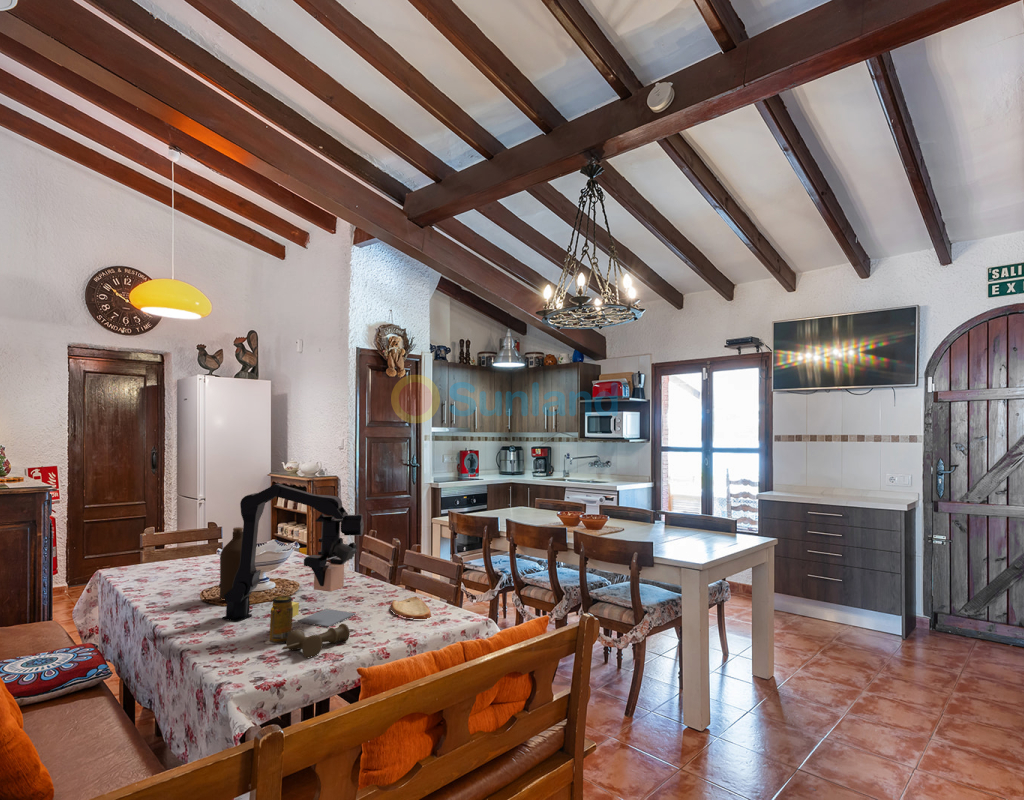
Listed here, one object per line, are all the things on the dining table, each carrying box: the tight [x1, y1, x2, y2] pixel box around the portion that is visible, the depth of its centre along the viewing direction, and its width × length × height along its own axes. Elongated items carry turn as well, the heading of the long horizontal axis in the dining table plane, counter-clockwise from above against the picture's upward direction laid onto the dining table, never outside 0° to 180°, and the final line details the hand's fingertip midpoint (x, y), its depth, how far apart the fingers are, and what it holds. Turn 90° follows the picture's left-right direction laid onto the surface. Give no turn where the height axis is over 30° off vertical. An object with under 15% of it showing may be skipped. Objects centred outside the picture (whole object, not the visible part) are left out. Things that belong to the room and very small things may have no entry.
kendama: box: [282, 623, 350, 658], centre depth 164 cm, size 6×10×20 cm
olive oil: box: [218, 526, 250, 599], centre depth 210 cm, size 11×11×25 cm
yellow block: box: [292, 601, 300, 618], centre depth 192 cm, size 4×4×4 cm
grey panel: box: [297, 608, 357, 628], centre depth 190 cm, size 14×12×1 cm
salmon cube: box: [313, 562, 345, 593], centre depth 191 cm, size 7×7×7 cm
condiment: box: [264, 595, 294, 645], centre depth 171 cm, size 7×8×12 cm
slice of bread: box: [389, 596, 432, 619], centre depth 200 cm, size 18×18×4 cm
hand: (328, 583), depth 191 cm, fingers closed on salmon cube, 7 cm apart
